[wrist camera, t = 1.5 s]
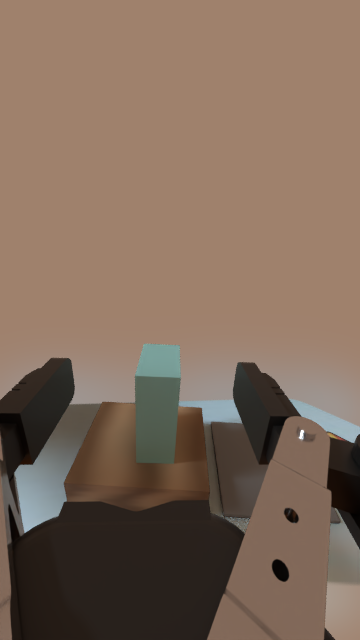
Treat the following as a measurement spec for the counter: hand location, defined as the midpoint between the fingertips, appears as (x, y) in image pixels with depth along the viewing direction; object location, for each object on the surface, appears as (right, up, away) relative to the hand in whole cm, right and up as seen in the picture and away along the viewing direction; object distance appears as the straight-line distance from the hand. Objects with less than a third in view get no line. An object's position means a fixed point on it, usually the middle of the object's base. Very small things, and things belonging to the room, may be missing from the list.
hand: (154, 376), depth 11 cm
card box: (-1, -11, +16) cm, 19 cm away
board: (-3, -15, +17) cm, 23 cm away
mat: (+12, -16, +18) cm, 27 cm away
